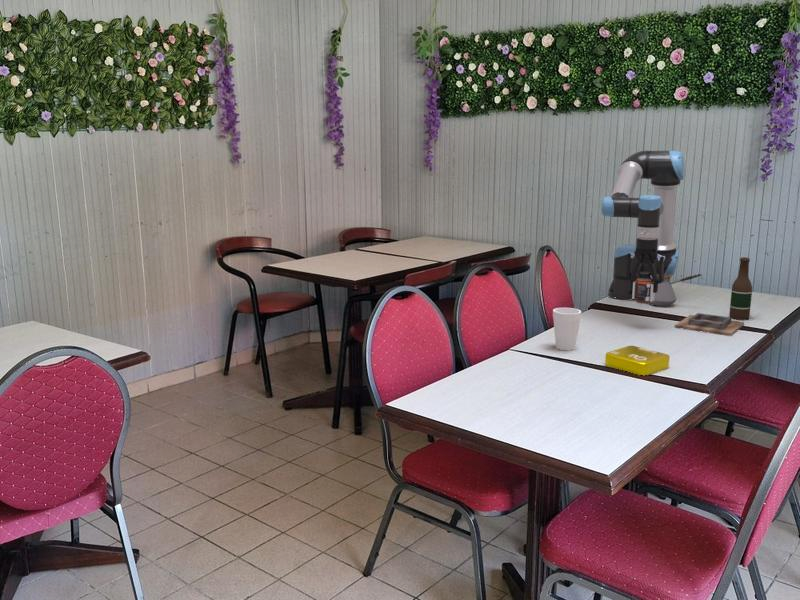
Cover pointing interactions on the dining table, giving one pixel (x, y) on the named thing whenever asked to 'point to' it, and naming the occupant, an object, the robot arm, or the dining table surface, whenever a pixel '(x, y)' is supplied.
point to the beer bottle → (741, 293)
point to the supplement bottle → (643, 288)
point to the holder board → (710, 324)
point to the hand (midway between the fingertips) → (643, 299)
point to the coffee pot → (667, 291)
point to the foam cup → (566, 327)
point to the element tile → (637, 360)
